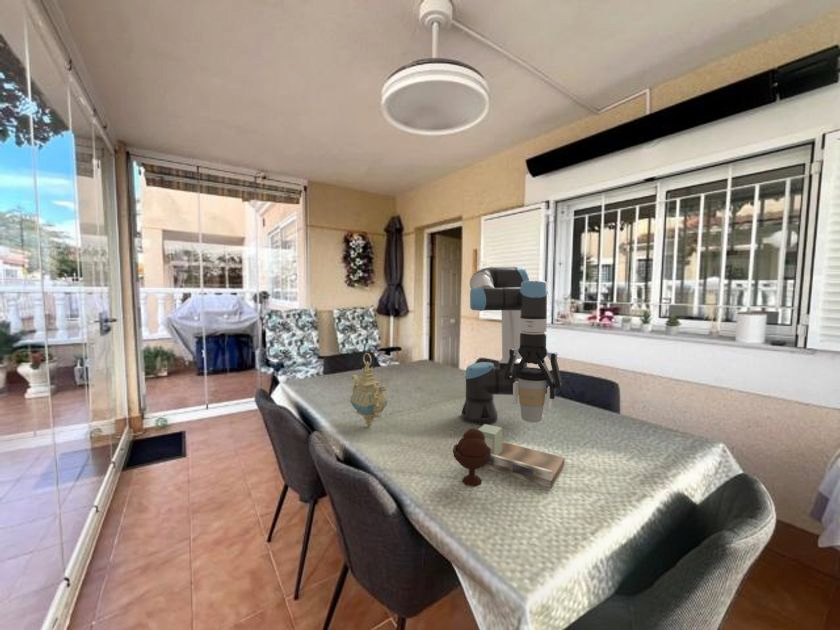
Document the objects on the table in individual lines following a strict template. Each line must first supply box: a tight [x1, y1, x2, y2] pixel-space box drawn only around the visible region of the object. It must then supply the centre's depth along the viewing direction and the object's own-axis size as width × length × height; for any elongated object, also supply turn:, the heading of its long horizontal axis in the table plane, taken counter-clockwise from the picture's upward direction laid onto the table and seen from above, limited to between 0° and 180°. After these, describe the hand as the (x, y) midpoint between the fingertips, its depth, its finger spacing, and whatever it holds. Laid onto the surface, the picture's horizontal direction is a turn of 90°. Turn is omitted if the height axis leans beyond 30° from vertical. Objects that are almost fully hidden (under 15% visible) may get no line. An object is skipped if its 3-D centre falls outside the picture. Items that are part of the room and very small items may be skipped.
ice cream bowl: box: [452, 428, 491, 487], centre depth 102 cm, size 11×11×15 cm
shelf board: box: [482, 441, 566, 489], centre depth 112 cm, size 24×16×4 cm
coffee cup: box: [516, 366, 547, 423], centre depth 107 cm, size 9×9×15 cm
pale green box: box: [477, 424, 503, 455], centre depth 115 cm, size 6×6×8 cm
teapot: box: [349, 352, 388, 428], centre depth 141 cm, size 24×12×30 cm, turn 39°
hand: (531, 405), depth 108 cm, fingers closed on coffee cup, 9 cm apart
